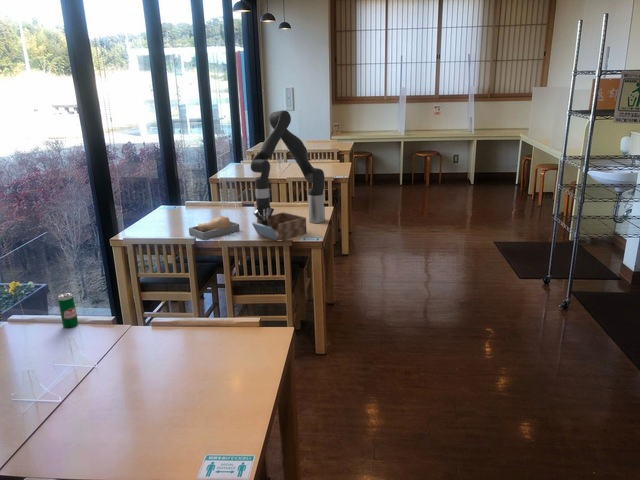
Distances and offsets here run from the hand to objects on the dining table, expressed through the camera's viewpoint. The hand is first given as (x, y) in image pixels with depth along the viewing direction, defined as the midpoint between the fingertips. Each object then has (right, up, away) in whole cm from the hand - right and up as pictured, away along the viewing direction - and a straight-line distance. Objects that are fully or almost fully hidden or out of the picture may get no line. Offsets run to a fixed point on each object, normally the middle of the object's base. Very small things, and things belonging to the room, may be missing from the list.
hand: (264, 226), depth 276 cm
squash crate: (-31, -3, +17) cm, 36 cm away
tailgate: (+2, -5, +3) cm, 6 cm away
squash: (-31, -2, +17) cm, 36 cm away
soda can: (-60, -39, -94) cm, 118 cm away
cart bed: (+9, -4, +10) cm, 14 cm away
